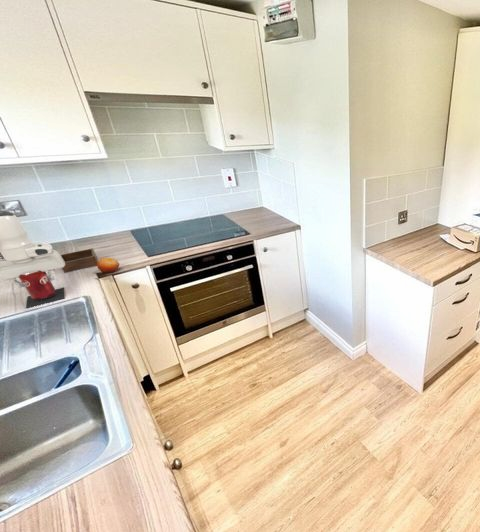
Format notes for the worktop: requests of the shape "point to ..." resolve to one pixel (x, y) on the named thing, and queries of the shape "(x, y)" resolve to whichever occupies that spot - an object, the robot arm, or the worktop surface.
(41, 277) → the soda can
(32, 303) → the mat
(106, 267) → the fruit
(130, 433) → the worktop surface
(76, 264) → the basket
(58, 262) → the robot arm
